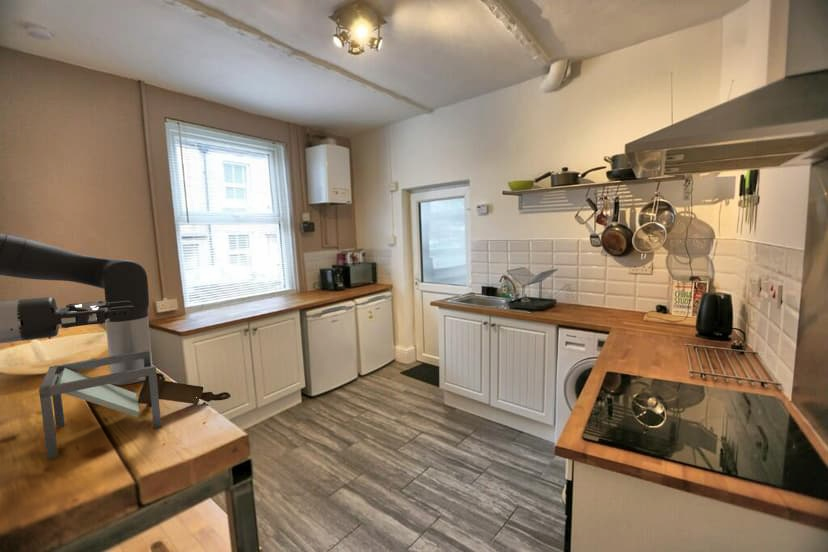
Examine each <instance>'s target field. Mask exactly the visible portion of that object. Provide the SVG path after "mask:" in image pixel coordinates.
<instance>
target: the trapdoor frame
mask: <svg viewBox="0 0 828 552" xmlns="http://www.w3.org/2000/svg"><path fill="white" fill-rule="evenodd" d="M138 359H143V360H144V368H139V369H134V370H129V371H124V372H118V373H113V374H111V373H108V374H104V375H98V376H94V377H92V378H87V379H82V380H77V381H72V382H67V383H62V384H57V383H58V380H59V377H60V374H61V372H62V371H63V370H64V368H67V369H70V370H72V371H75V372H78V371H81V370H86V369H93V368H97V367H98V368H99V367H104V366H110V365H111V364H116V363H122V362H127V361H133V360H138ZM156 373H157V366H156V365H153V366H151V362H150V351H149V350H146V351H140V352H134V353H128V354H122V355H116V356H110V357H109V356H106V357H100V358H93V359H88V360H82V361H75V362H71V363H70V362H69V363H64V364H58V365H51V366H49V367H48V369H47V372H46V374H45V376H44V378H43V381H42V383H41V385H40V386H39V389H38V391H39V398H40V400H39V401H40V402H39V403H40V408H41V416H42V417H41V418H42V424H43V433H44V440H45V447H46V448H45V449H46V457H47V460H48V461H49V460H51V458H52V459H56V458H58V456H59V452H58V443H57V436H56V429H59V428H64V427H65V425H66V422H65V413H64V407H63V406H64V405H63V396H62V395H63V394H64V393H67V392H72V391H77V390H82V389H87V388H92V387H97V386H101V385H106V384H111V385H112V383H116V382H121V381H126V380H130V379H135V378H140V377H145V380H146V378H147V376H149V383H150V394H151V404H147V406H151V412H152V413H151V414H152V415H151V416H152V426H153V429H154V430H156V429H159V428H162V421H161V419H162V418H161V409H160V399H159V396H158V385H157V374H156ZM145 380H144V381H145ZM53 409H54V410H53ZM55 457H56V458H55Z"/></svg>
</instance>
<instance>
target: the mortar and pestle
mask: <svg viewBox="0 0 828 552" xmlns="http://www.w3.org/2000/svg"><path fill="white" fill-rule="evenodd" d="M156 374H157V385H158V396H159V400H162V401H170V402H171V401H172V402H176V403H185V404H192V405H198V403H199V402H200V400H202V401H205V402H207V403H210V402H211V401H214V402H215V401H224V400H228V399H230V398H231V396H232V395H231V394H230V393H229V392H226V391H224V392H220V393H217V394H215V393H213V391H205V392H204V387H203V386H199V385H193V384H189V383H188V384H186V383H180V382H176V381H175V382H174V381H170V380H169V381H168V380H166V377H164V375H163V374H162V373H158V372H156ZM196 397H197V398H196ZM199 399H200V400H199ZM137 400H138V404H140V405H141V404H142V405H148V404H151V394H150V383H149V376H147V378H146V380H144V383H143V385H142V387H141V390H140V392H139V395H138V397H137Z"/></svg>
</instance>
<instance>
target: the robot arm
mask: <svg viewBox="0 0 828 552" xmlns="http://www.w3.org/2000/svg"><path fill="white" fill-rule="evenodd" d="M0 276H3V277H4V276H6V277H12V278H16V279H17V278H18V279H26V280H27V279H28V280H29V279H30V280H38V281H39V280H41V281H60V282H61V281H62V282H63V281H64V282H71V283H72V282H73V283H78V284H82V285H87V286H91V287H96V288H99V289H103V290H104V299H105V300H104V301H102V300H99V301H90V302H89V301H88V302H87V301H86V302H83V303H82V302H75V303H68V304H66V305H65V307H61V308H60V307H57V302H56V300H55V298H54V297H51V296H47V297H46V296H45V297H35V298H24V299H10V300H0V344H8V343H17V342H18V343H19V342H24V341H32V340H39V339H46V338H54V337H57V336H58V334H59V326H60V325H61V328H63V329H68V328H72V327H73V328H75V327H82V326H91V325H104V324H105V332H106V341H107V342H106V343H107V351H108V357H110V356H116V355H122V354H128V353H134V352H140V351H146V350H149V351H150V362H151V366H154V365H153V356H152V345H151V334H150V333H151V332H150V325H149V324H150V321H149V306H150V299H149V297H150V296H149V283H148V281H149V280H148V275H147V272H146V270H145V268H144V267H143V266H142V265H141V263H138V262H137V261H134V260H129V259H115V258H105V257H100V256H99V257H97V256H91V255H85V254H80V253H77V252H73V251H69V250H68V249H67V250H66V249H63V248H61V247H57V246H54V245H51V244H48V243H44V242H41V241H37V240H33V239H30V238H25V237H19V236H14V235H12V234H5V233H0ZM139 368H144V360H143V359H138V360H133V361H127V362H122V363H116V364H111V365H109V370H110V371H109V372H110V374H113V373H118V372H124V371H129V370H134V369H139ZM143 381H145V377H140V378H135V379H130V380H126V381H121V382H116V383H111V385H114V386H116V385H117V386H122V385H123V386H124V385H131V384H135V383H139V382H143Z"/></svg>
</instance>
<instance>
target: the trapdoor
mask: <svg viewBox="0 0 828 552" xmlns="http://www.w3.org/2000/svg"><path fill="white" fill-rule="evenodd" d="M87 378H93V377H92V376H88V375H86V374H83V373H81V372H78V371H72V370H70V369H67V368H64V370H63V371H62V372H61V374H59V380H58V383H57V384H62V383H67V382H72V381H77V380H82V379H87ZM63 394H65V395H68V396H70V397H74V398H77V399H80V400H84V401H86V402H90V403H93V404H96V405H99V406H102V407H105V408H108V409H112V410H114V411H118V412H120V413H123V414H126V415H129V416H133V417H136V418H137V417H138V416H139V414H140V413H141V412H140V406H139V403H138V396H137V393H136V392H133V391H130V390H128V389H126V388H122V387H119V386H118V385H117V386H116V385H115V384H112V383H111V384H106V385H101V386H97V387H92V388H87V389H82V390H77V391H72V392H67V393H63Z"/></svg>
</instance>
